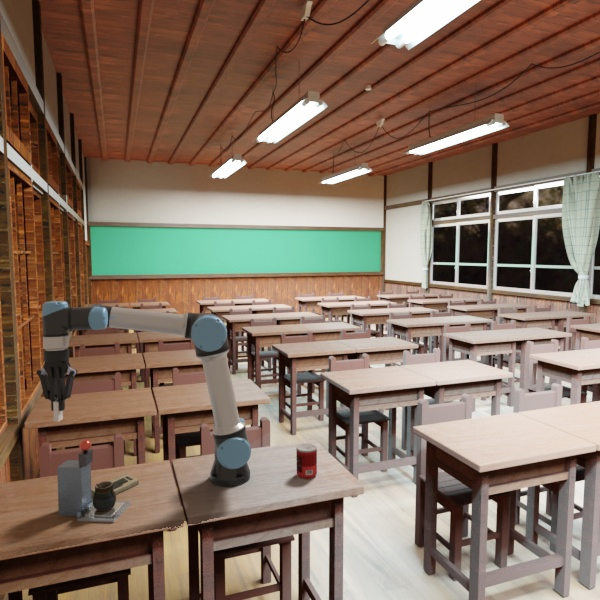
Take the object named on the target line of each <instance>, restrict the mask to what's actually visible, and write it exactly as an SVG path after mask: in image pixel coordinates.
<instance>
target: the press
mask: <svg viewBox="0 0 600 600" xmlns="http://www.w3.org/2000/svg"><path fill="white" fill-rule="evenodd" d="M91 463H92V462H91ZM91 463H90V464H88V465H87V466H79V459H78V460H76V459H72V460H71V459H67V460H65V461H64V462H62V463H61V464H60V465H58V466H57V469H56V470H57V473H56V474H57V496H58V497H57V498H58V500H57V502H58V516H61V517H62V516H65V517H66V516H67V517H77V518H76V521H77V522H88V523H89V522H93V523H94V522H95V523H116V521H117V520H118V519H119V517H121V515H122V514H123V513H124V512H125V511H126V510H127V509H128V508H129V506H131V500H116V502H115V505H114V507H113V508H111V509H109V510H107V511H98V510H97V509H95V508H94V506H93V502H92V501H93V497H91V489H92V476H91V475H92V467H91Z"/></svg>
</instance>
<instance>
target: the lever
mask: <svg viewBox="0 0 600 600" xmlns="http://www.w3.org/2000/svg"><path fill="white" fill-rule="evenodd" d="M91 448H92V442H91V441H90V440H88V439H85V440H81V442H80V443H79V449H80V451H81V452H79V453H78V460H79V466H87V465H88V464H90V463H92V462H94V458H93V457H94V456H93V452H94V451H93V449H91Z"/></svg>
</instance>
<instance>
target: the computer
mask: <svg viewBox="0 0 600 600" xmlns="http://www.w3.org/2000/svg"><path fill="white" fill-rule="evenodd" d="M109 481H110V482H112V483H113V490H114V492H115V494H116V496H117V495H119V494H121V493H123V492H126V491H127V490H129V489H132V488H134V487H136V486H138V485H139V484H140V480H139V478H136V477H134V476H133V475H131V474H127V473H124V474H122V475H119V476H117V477H114V478H112V479H110V480H109ZM94 493H95V486H94V487H91V497H92V498H93V496H94Z"/></svg>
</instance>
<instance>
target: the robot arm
mask: <svg viewBox="0 0 600 600" xmlns="http://www.w3.org/2000/svg"><path fill="white" fill-rule="evenodd" d="M41 312H42V315H41V320H42V323H41V324H42V348H43V349H44V350H43V362H44V364H42V365H43V367H42V368H41V369H37V370H36V375H37V376H38V378H39V381H40V384H41V389H42V393H43V397H44V398H45V400H49V401H50V409H51V412H53V422H57V423H58V422H61V421H62V420H63V419H64V410H65V409H66V405H65V403H66V400H67V399H69V398H71V397H72V396H71V395H72V392H73V386H74V383H75V382H74V381H75V377H76V375H77V373H78V370H77V369H74V368H72V367H71V364H70V363H69V362H70V361H69V360H70V349H69V346H70V342H69V341H70V338H69V335H70V334H69V331H87V330H88V331H93V330H94V331H99V330H106V329H107V328H113V329H121V330H129V331H130V330H131V331H140V332H147V333H148V332H150V333H158V334H166V335H167V334H168V335H175V336H176V335H178V336H182V338H183V339H189V340H192V342H193V346H194V351H195V356H196V358H197V359H199V360H200V361H201V363H202V366H203V367H202V368H203V372H204V373H203V374H204V377H205V382H206V387H207V393H208V395H209V401H210V407H211V410H212V415H213V420H214V423H213V429H212V436H213V443H214V460H213V464H212V467H211V469H210V475H209V476H210V482H211V483H213V485H216V486H220V487H230V486H231V487H233V486H239V485H242V484H245V483H247V482H248V481H249V480H250V478H251V470H250V467H249V465H248V462H249V460H250V458H251V454H252V445H251V444H250V441H249V437H248V433H247V432H248V431H247V428H246V421H245V419H244V418H242V417H240V416H239V410H238V406H237V399H236V396H235V391H234V386H233V382H232V377H231V371H230V367H229V363H228V362H229V361H228V358H227V355H228V353H229V352H230V345H229V340H228V329H227V327H226V323H224V321H223V320H222V319H221V317H219V316H218V315H216V314H215V313H211V312H189V311H188V312H186V313H184V314H180V313H179V314H178V313H171V312H163V311H161V312H160V311H153V310H148V309H147V310H146V309H136V308H129V307H127V308H126V307H120V306H119V307H118V306H109V305H103V304H100V303H94V304H91V305H89V306H79V307H70V306H69V304H68V302H67V301H64V300H63V301H59V300H58V301H45V302H44V303H42V311H41ZM66 375H67V376H66Z"/></svg>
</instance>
